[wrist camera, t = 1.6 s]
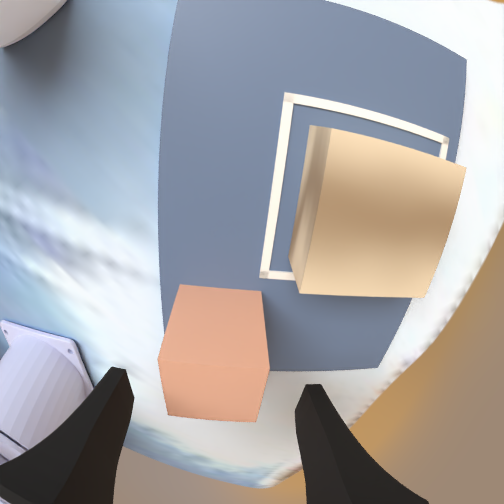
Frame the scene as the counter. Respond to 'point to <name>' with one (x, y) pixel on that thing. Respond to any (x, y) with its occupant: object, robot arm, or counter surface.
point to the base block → (370, 216)
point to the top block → (215, 354)
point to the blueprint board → (286, 154)
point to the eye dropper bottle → (24, 17)
